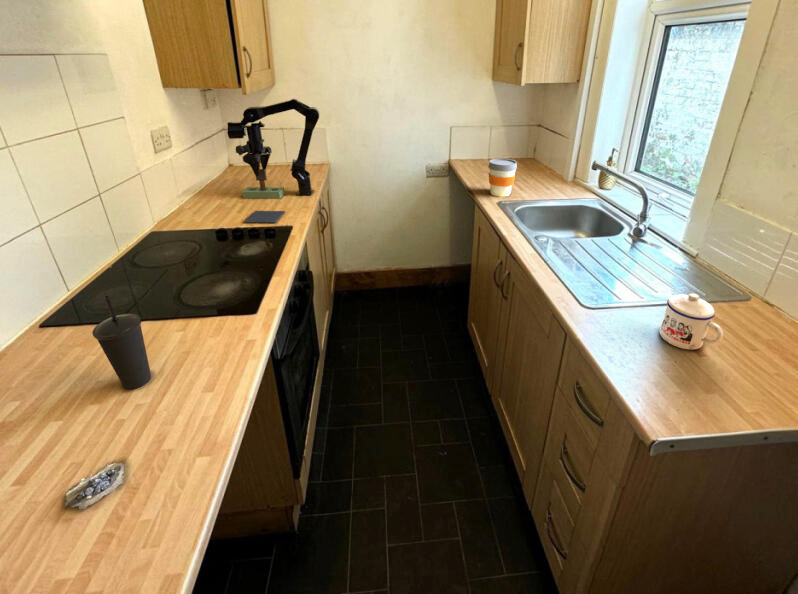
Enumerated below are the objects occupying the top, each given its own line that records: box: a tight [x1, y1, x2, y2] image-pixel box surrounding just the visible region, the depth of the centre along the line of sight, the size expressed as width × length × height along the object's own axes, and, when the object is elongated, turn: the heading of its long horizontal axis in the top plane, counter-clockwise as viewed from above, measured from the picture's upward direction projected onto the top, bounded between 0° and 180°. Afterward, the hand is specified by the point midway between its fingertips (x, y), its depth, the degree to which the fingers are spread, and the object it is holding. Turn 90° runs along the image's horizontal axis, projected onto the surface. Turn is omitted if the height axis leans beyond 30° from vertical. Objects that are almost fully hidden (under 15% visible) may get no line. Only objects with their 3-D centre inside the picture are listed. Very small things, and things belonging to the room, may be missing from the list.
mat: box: [243, 210, 285, 224], centre depth 165 cm, size 12×12×1 cm
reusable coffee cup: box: [488, 158, 518, 197], centre depth 191 cm, size 12×13×15 cm
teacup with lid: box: [659, 293, 724, 350], centre depth 93 cm, size 12×9×12 cm
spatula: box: [255, 168, 268, 191], centre depth 188 cm, size 2×4×12 cm, turn 89°
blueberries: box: [64, 462, 125, 511], centre depth 63 cm, size 7×8×2 cm
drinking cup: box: [91, 295, 152, 390], centre depth 79 cm, size 8×8×20 cm
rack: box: [241, 186, 286, 199], centre depth 190 cm, size 7×17×3 cm, turn 89°
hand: (260, 173), depth 186 cm, fingers open, 9 cm apart
